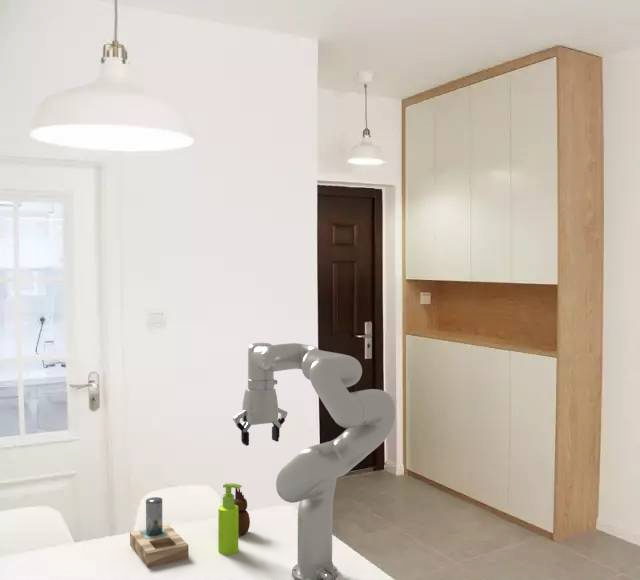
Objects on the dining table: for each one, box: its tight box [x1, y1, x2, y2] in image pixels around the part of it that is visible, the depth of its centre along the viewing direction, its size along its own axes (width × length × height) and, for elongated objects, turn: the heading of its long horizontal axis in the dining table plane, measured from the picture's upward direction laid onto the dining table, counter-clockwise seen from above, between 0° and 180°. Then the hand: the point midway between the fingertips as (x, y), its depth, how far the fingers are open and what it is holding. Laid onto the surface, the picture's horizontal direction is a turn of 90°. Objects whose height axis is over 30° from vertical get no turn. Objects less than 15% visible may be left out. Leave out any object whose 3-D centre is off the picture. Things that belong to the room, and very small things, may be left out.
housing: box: [129, 524, 189, 568], centre depth 204 cm, size 18×12×4 cm, turn 30°
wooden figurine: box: [234, 488, 251, 537], centre depth 218 cm, size 7×6×15 cm
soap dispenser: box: [217, 483, 243, 556], centre depth 204 cm, size 6×7×20 cm
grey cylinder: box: [145, 496, 163, 536], centre depth 207 cm, size 5×5×10 cm
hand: (260, 442), depth 204 cm, fingers open, 9 cm apart
